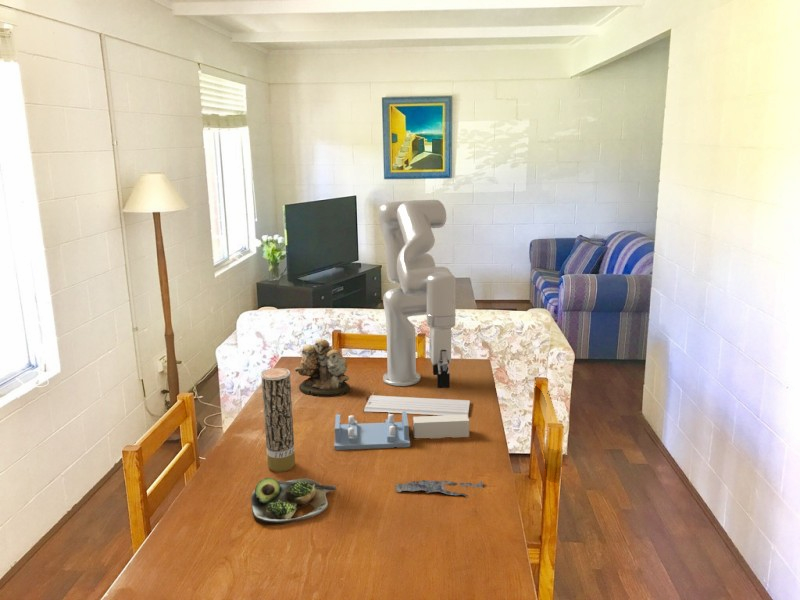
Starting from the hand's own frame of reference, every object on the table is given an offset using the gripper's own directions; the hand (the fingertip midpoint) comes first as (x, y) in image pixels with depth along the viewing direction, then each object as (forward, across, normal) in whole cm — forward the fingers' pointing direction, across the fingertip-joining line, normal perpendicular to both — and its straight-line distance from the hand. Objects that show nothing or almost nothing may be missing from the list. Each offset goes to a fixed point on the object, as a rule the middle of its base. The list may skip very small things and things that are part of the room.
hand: (441, 380), depth 177 cm
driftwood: (+17, +28, -4) cm, 33 cm away
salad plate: (+17, +31, -39) cm, 52 cm away
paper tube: (+16, +14, -42) cm, 47 cm away
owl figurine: (+16, -36, -34) cm, 52 cm away
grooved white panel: (+16, -18, -5) cm, 25 cm away
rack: (+16, 0, -19) cm, 25 cm away
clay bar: (+16, 0, 0) cm, 16 cm away
